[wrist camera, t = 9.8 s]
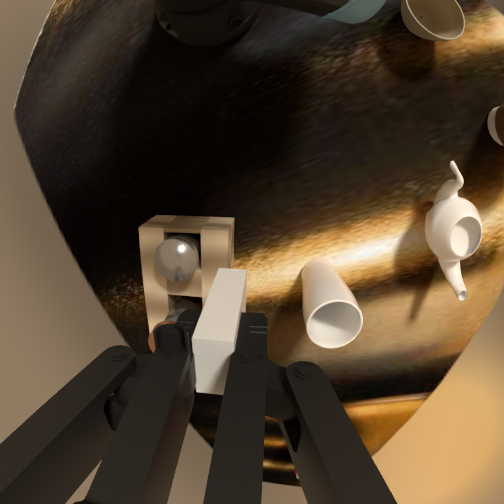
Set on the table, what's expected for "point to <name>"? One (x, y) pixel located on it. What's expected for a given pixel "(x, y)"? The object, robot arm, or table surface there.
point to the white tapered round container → (433, 19)
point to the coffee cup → (497, 124)
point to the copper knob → (173, 316)
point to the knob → (178, 256)
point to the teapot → (453, 230)
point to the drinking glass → (328, 306)
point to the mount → (210, 260)
